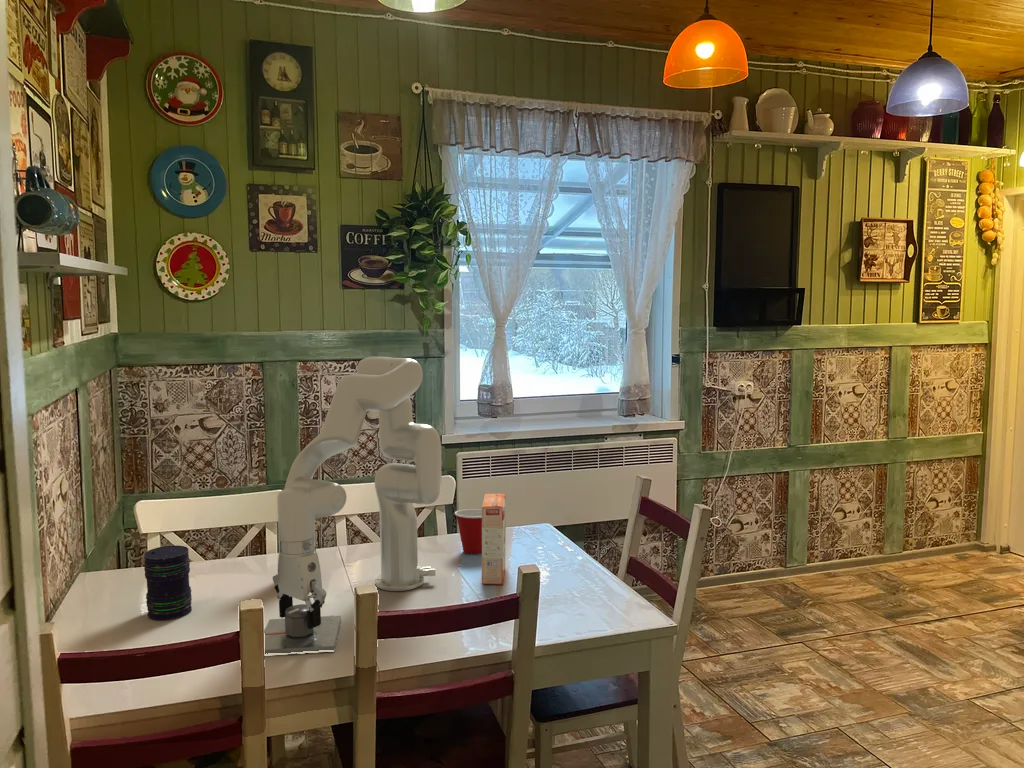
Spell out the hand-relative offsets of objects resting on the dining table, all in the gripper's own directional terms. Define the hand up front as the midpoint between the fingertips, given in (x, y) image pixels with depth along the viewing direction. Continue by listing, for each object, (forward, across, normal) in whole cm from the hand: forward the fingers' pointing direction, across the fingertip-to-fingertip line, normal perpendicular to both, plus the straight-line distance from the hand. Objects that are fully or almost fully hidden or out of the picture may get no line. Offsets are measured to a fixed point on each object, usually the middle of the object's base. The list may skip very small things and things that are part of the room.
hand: (300, 621), depth 174 cm
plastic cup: (+4, +8, -68) cm, 69 cm away
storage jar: (+4, +37, +10) cm, 38 cm away
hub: (+4, 0, 0) cm, 4 cm away
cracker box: (+4, -9, -56) cm, 57 cm away
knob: (+2, 0, 0) cm, 2 cm away
